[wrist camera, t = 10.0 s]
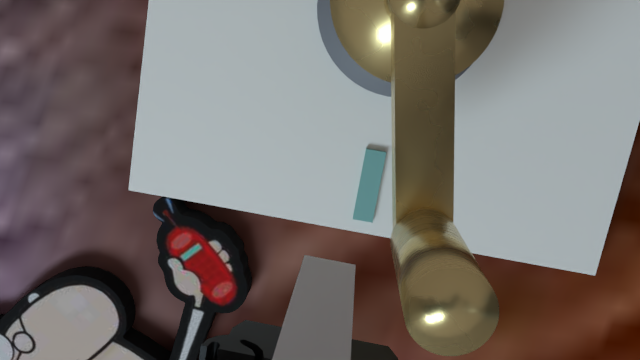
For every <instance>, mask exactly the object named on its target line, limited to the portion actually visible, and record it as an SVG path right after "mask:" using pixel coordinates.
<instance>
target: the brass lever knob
mask: <svg viewBox="0 0 640 360" xmlns="http://www.w3.org/2000/svg"><path fill="white" fill-rule="evenodd" d="M503 8H504V0H330V10H331V16H332V21H333V25H334V28H335V31H336V33H337V36H338V38H339V40H340V42H341V44H342V46H343V47H344V48H345V50H346V51H347V53H348V54H349V55H350V57H351V58H352V59H353V60H354V61H355V62H356V63H357V64H358V65H359V66H361V67H362V68H363V69H364V70H366V71H367V72H369V73H370V74H372V75H373V76H375V77H377V78H380V79H382V80H384V81H387V82H390V83H391V120H392V221H393V230H392V233H391V240H390V244H391V250H392V256H393V261H394V266H395V272H396V277H397V282H398V287H399V293H400V298H401V303H402V309H403V314H404V319H405V324H406V327H407V329H408V331H409V333H410V335H411V336H412V338H413V339H414V340H415V341H416V342H417V343H418V344H419V345H420V346H421V347H423V348H424V349H426V350H428V351H430V352H432V353H435V354H438V355H443V356H458V355H463V354H467V353H470V352H472V351H474V350H476V349H477V348H479V347H480V346H482V345H483V344H484V343H485V342H486V341H487V340H488V339H489V338H490V337H491V335H492V334H493V332H494V330H495V328H496V326H497V323H498V319H499V304H498V300H497V297H496V295H495V293H494V291H493V289H492V287H491V285H490V284H489V282H488V280H487V279H486V277H485V275H484V274H483V272H482V270H481V269H480V267H479V265H478V263H477V262H476V260H475V258H474V257H473V255H472V253H471V252H470V250H469V248H468V247H467V245H466V243H465V242H464V240H463V238H462V236H461V235H460V233H459V231H458V230H457V228H456V226H455V225H454V223H453V214H454V126H455V75H457V74H459V73H460V72H462V71H463V70H465V69H466V68H468V67H469V66H470V65H471V64H472V63H473V62H475V61H476V60H477V59H478V58H479V57H480V55H481V54H482V53H483V52H484V51H485V50H486V48H487V47H488V45H489V44H490V42H491V41H492V39H493V37H494V35H495V33H496V31H497V28H498V26H499V23H500V20H501V17H502V12H503Z"/></svg>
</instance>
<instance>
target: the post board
mask: <svg viewBox="0 0 640 360" xmlns="http://www.w3.org/2000/svg"><path fill="white" fill-rule="evenodd" d="M639 121H640V0H504V8H503V12H502V17H501V20H500V23H499V26H498V28H497V31H496V33H495V35H494V37H493V39H492V41H491V42H490V44H489V45H488V47H487V48H486V50H485V51H484V52H483V53H482V54H481V55H480V57H479V58H478V59H477V60H476V61H475V62H473V63H472V64H471V65H470V66H469V67H468V68H466V69H465V70H463V71H462V72H460V73H459V74H457V75H455V126H454V214H453V223H454V225H455V226H456V228H457V230H458V231H459V233H460V235H461V236H462V238H463V240H464V242H465V243H466V245H467V247H468V248H469V250H470V252H471V253H475V254H480V255H486V256H491V257H497V258H502V259H508V260H513V261H518V262H524V263H529V264H535V265H540V266H546V267H551V268H557V269H562V270H568V271H573V272H578V273H584V274H589V275H595V274H596V271H597V267H598V264H599V260H600V257H601V253H602V250H603V246H604V243H605V239H606V236H607V232H608V229H609V225H610V222H611V218H612V215H613V212H614V208H615V205H616V201H617V198H618V194H619V191H620V187H621V184H622V180H623V177H624V173H625V170H626V166H627V163H628V159H629V156H630V152H631V149H632V145H633V142H634V138H635V135H636V131H637V128H638V124H639ZM129 190H131V191H136V192H142V193H147V194H153V195H158V196H164V197H169V198H175V199H180V200H185V201H191V202H196V203H202V204H207V205H213V206H218V207H224V208H229V209H235V210H240V211H245V212H251V213H256V214H262V215H267V216H273V217H278V218H284V219H289V220H295V221H300V222H306V223H311V224H316V225H322V226H327V227H333V228H338V229H344V230H349V231H355V232H360V233H366V234H371V235H376V236H382V237H387V238H391V233H392V230H393V221H392V120H391V83H390V82H387V81H384V80H382V79H380V78H377V77H375V76H373V75H372V74H370V73H369V72H367V71H366V70H364V69H363V68H362V67H361V66H359V65H358V64H357V63H356V62H355V61H354V60H353V59H352V58H351V57H350V55H349V54H348V53H347V51H346V50H345V48H344V47H343V46H342V44H341V42H340V40H339V38H338V36H337V33H336V31H335V28H334V25H333V21H332V16H331V10H330V0H149V4H148V14H147V23H146V32H145V42H144V51H143V60H142V69H141V79H140V88H139V97H138V106H137V116H136V125H135V134H134V143H133V153H132V162H131V171H130V180H129Z"/></svg>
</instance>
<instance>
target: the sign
mask: <svg viewBox="0 0 640 360" xmlns="http://www.w3.org/2000/svg"><path fill="white" fill-rule="evenodd" d="M153 212H154V215H155V217H156V218H157V219H158V220H160V221H161V222H162V225H161V227H160V228H159V231H158V234H157V244H158V245H157V246H158V249H159V251H160V254H159V257H158V263H159V266H160V267H161V269H162V270H163V272H164V276H165V282H166V285H167V287H168V289H169V291H170V292H171V293H172V294H173V295H174V296H175V297H176V298H178V299H180V300H181V301H184V302H185V307H184V310H183V314H182V317H181V321H180V326H179V329H178V333H177V336H176V339H175V342H174V346H173V349H172V353H171V352H169V351H168V350H166V349H165V348H164V347H162V346H161V345H159V344H158V343H156V342H155V341H153V340H152V339H150V338H149V337H147V336H145V335H144V334H142V333H141V332H139V331H137V330H136V329H134V328H133V327H132V324H133V322H134V319H135V304H134V300H133V297H132V295H131V293H130V291H129V289H128V288H127V286H126V285H125V284H124V283H123V282H122V281H121V280H120V279H119V278H118V277H116V276H115V275H113V274H112V273H110V272H109V271H105V270H103V269H100V268H95V267H86V266H85V267H78V268H73V269H68V270H66V271H64V272H61V273H59V274H57V275H56V276H54V277H52V278H51V279H49V280H46V281H45V282H44V283H42V284H41V285H39V286H38V287H37V288H35V289H34V290H33V291H31V292H30V293H29V294H27V295H26V296H25V297H24V298H22V299H21V300H20V301H19V302H18V303H17V304H16V305H15V306H14V307H13V308H12V309H11V310H10V311H9V312H7V313H6V314H4V315H3V314H0V360H197V359H198V356H199V353H200V347H201V345H202V344H203V343H204V341H205V339H206V337H207V334H208V332H209V330H210V328H211V326H212V325H211V324H212V321H213V319H214V317H215V315H216V312H219V313H230V312H233V311H235V310H236V309H238V308H239V307H240V306H241V305H242V304H243V302H244V301H245V299H246V297H247V294H248V292H249V290H250V287H251V282H252V277H251V271H250V269H249V267H248V257H247V255H246V253H245V251H244V243H243V241H242V240H241V239H240V237H239V236H238V235H237V234H236V232H235V231H234V229H233V228H232V227H231V226H230V225H228V224H226V223H224V222H217V221H215V220H214V219H213V218H211V217H210V216H208V215H207V214H205V213H203V212H201V211H198V210H194V209H189V208H188V207H187V206H186V205H185V203H184V200H180V199H175V198H169V197H164V196H163V197H162V198H160V199H159V200H157V201H156V202H155V204H154V207H153Z"/></svg>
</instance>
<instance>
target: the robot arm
mask: <svg viewBox="0 0 640 360" xmlns="http://www.w3.org/2000/svg"><path fill="white" fill-rule="evenodd" d="M354 282H355V265H353V264H348V263H343V262H338V261H333V260H327V259H322V258H317V257H312V256H306V255H305V256H304V259H303V262H302V265H301V268H300V272H299V275H298V278H297V281H296V284H295V288H294V291H293V294H292V297H291V300H290V304H289V307H288V310H287V313H286V316H285V320H284V323H283V326H282V327H278V326H273V325H268V324H263V323H258V322H253V321H248V320H245V321H243V322H242V323H240V324H238V325H237V326H235V327H233V328H232V330H231V332H230V334H229V335H221V336H215V337H213V338H210V339H207V340H206V341H205V342H204V343H203V344H202V345H201V347H200V354H199V360H398V358H397V357H396V355H395V354H394V353H393V352H392V350H391V349H390V348H389V347H388V346H383V345H378V344H373V343H368V342H363V341H358V340H353V339H352V322H353V302H354Z"/></svg>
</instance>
